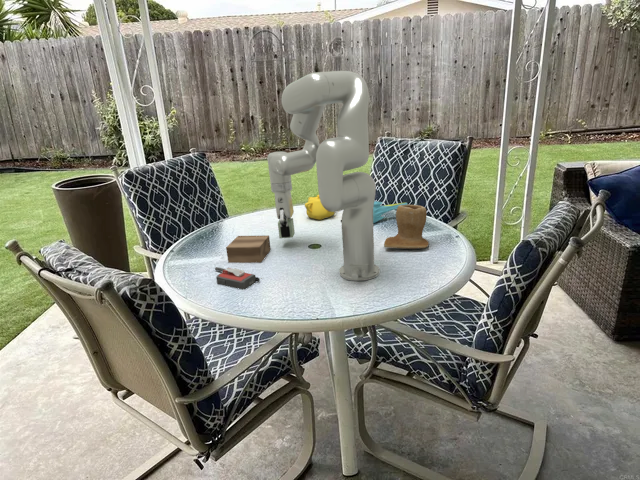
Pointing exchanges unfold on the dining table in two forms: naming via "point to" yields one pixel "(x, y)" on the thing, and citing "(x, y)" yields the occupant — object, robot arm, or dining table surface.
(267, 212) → the dining table surface
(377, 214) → the decorative bird
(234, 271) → the walkie-talkie
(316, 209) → the teapot
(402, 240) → the clay spout
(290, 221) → the sage block
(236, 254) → the walnut box
